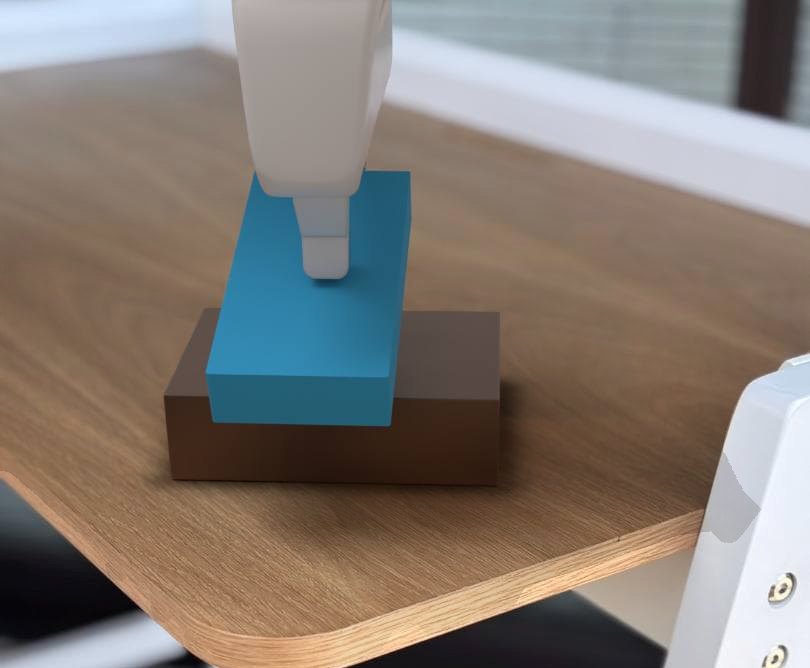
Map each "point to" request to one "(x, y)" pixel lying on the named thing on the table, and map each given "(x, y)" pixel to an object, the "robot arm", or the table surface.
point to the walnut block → (358, 445)
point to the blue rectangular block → (313, 315)
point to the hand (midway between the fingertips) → (337, 239)
